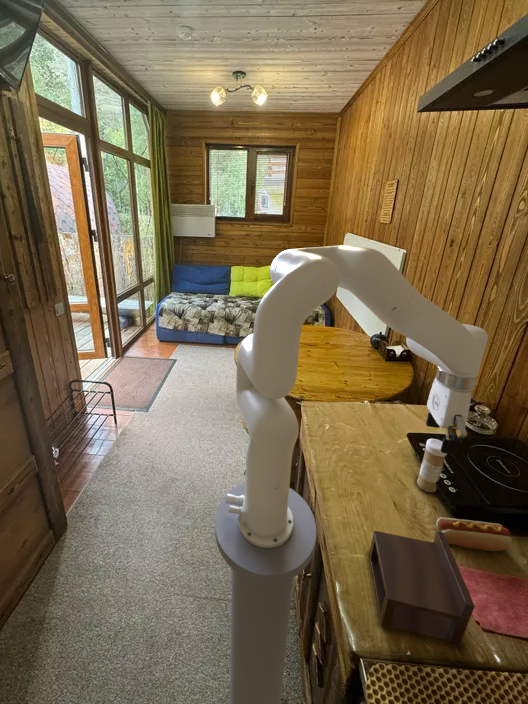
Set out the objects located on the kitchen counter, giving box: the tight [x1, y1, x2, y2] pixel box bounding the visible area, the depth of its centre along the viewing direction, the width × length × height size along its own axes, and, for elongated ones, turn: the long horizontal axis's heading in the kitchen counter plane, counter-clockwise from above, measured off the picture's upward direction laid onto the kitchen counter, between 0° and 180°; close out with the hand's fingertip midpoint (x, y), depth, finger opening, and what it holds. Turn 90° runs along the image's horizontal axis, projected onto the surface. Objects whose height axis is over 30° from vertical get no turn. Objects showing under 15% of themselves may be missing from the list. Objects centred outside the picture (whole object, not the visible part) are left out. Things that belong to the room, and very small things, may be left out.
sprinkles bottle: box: [416, 438, 448, 493], centre depth 78 cm, size 5×5×13 cm
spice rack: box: [368, 530, 476, 647], centre depth 55 cm, size 12×12×10 cm
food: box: [435, 516, 513, 552], centre depth 66 cm, size 14×6×5 cm, turn 83°
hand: (440, 438), depth 76 cm, fingers open, 9 cm apart
